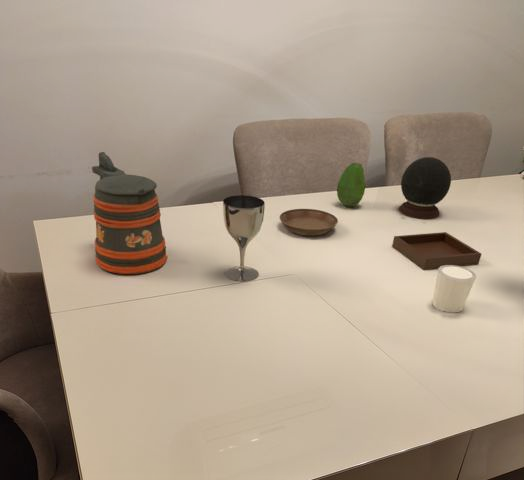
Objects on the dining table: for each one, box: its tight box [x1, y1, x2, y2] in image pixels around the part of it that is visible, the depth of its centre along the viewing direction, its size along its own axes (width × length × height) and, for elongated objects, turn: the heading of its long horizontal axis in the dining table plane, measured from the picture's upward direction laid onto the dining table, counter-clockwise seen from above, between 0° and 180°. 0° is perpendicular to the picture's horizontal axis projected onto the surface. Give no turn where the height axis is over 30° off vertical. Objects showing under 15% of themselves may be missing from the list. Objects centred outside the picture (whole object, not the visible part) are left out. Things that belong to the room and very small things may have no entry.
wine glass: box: [222, 194, 266, 282], centre depth 100 cm, size 8×8×15 cm
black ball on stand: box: [398, 156, 452, 220], centre depth 139 cm, size 13×13×15 cm
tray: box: [391, 231, 482, 271], centre depth 117 cm, size 15×14×3 cm
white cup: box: [432, 265, 477, 313], centre depth 95 cm, size 7×7×7 cm
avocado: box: [336, 162, 366, 208], centre depth 142 cm, size 8×8×12 cm
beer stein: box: [91, 151, 168, 275], centre depth 102 cm, size 19×15×20 cm
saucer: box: [279, 208, 339, 237], centre depth 127 cm, size 15×15×3 cm
